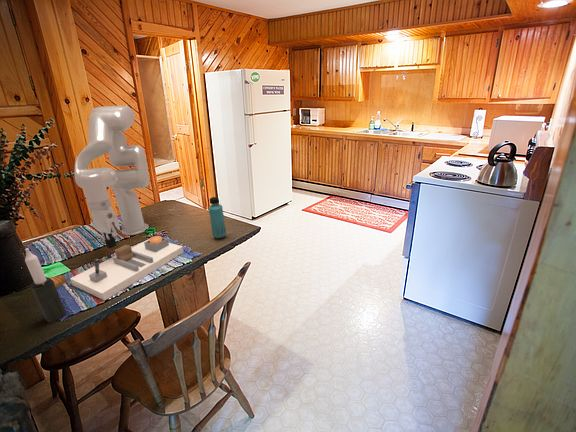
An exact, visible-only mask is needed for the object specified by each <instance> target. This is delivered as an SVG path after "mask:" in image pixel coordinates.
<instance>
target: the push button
mask: <svg viewBox="0 0 576 432" xmlns="http://www.w3.org/2000/svg"><path fill="white" fill-rule="evenodd" d="M162 238H163V237H162V236H161V235H154V236H151V237H150V238H148V239H149V241H150V244H153V245H156V244H158V243H160V242H162Z"/></svg>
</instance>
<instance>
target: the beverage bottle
mask: <svg viewBox="0 0 576 432" xmlns="http://www.w3.org/2000/svg"><path fill="white" fill-rule="evenodd" d="M209 204H210V206H208V213H209V219H210V220H209V221H210V224H211V225H210V226H211V234H212V236H213V237H214V238H215V239H216V238H217V239H218V238H219V239H220V238H223V237H225V236H226V234H227V228H226V222H225V216H224V215H225V214H224V211H223V210H224V209H223V205H221V204H220V200H219V197H217V196H213V197H210V198H209Z"/></svg>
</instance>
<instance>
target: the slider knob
mask: <svg viewBox="0 0 576 432" xmlns="http://www.w3.org/2000/svg"><path fill="white" fill-rule="evenodd" d="M131 248H132V246H131V245H129V244H124V245H122V246H120V247H118V248H116V249H115V250H114V253H115V256H116V257H117V258H118V259H121V260H123V261H127V260H129V259H131V258H133V257H134V256H133V253H132V249H131Z"/></svg>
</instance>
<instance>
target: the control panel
mask: <svg viewBox="0 0 576 432" xmlns="http://www.w3.org/2000/svg"><path fill="white" fill-rule="evenodd" d="M149 239H150V238H148V239H147V240H145V241H143V242H140V243H138V244H136V245H134V246H133V247H132V246H131V249H132V253H133V256H134V257H133V258H131V259H129V260H127V261H123V260H121V259H118V258H117V257H116V255H114V256H112V257H110V258H108V259H107V260H106V259H105V260H104V261H102V262H100V263H99V273H98V274H96V273H95V265H94V266H93V267H90V268H88V269H86V270H84V271H82V272H80V273H79V274H75V275H74V276H72V277H71V278H70V282H71V285H72V286H73V287H75V288H78V289H80V290H81V291H83V292H86V293H88V294H90V295H92V296H94V297H96V298H98V299H100V300H102V301H104V302H105V301H106V300H108V299H110V298H111V297H113V296H115V295H116V294H118V293H120V292H122V291H123V290H125V289H126V288H127V287H129V286H131V285H133V284H134V283H136V282H138V281H139V280H140V279H142V278H144V277H146V276H148V275H149V274H151V273H153V272H154V271H156V270H158V269H159V268H161V267H162V266H164V265H166V264H167V263H169V262H171V261H172V260H174V259H175V257H176V258H177V257H179V256H180V254H181V255H182V254H184V247H183V246H182V245H179V244H175V243H171V242H169V240H168V238H166V237H162V242H160V243H158V244H156V245H153V244H150V241H149ZM178 255H179V256H178ZM173 258H174V259H173ZM170 260H171V261H170Z"/></svg>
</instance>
